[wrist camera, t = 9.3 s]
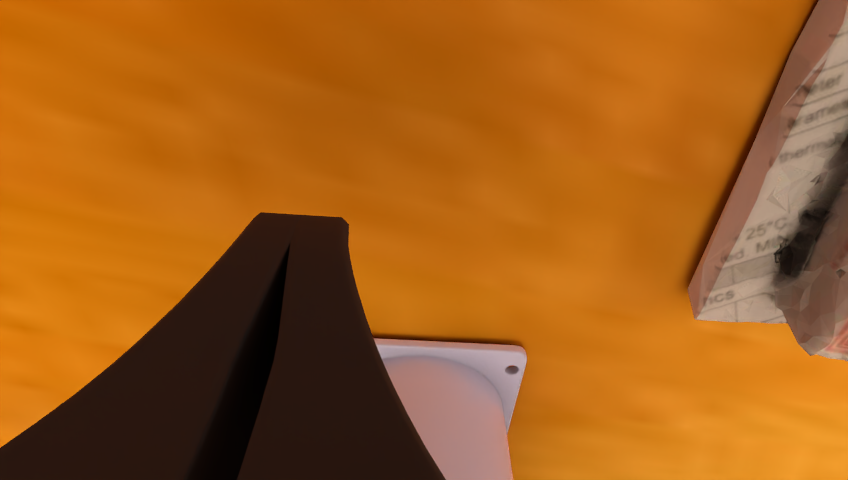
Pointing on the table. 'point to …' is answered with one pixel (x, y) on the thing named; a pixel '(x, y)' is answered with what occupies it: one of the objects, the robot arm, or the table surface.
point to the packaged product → (791, 204)
